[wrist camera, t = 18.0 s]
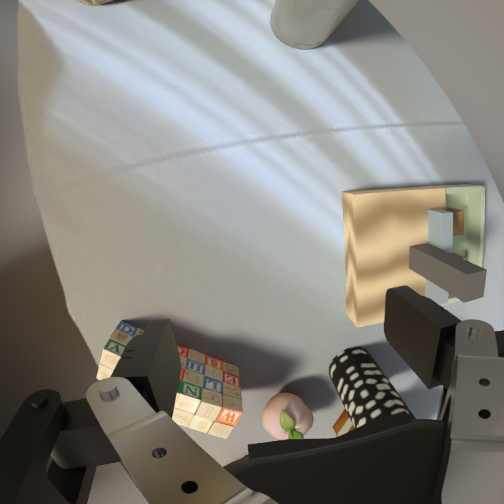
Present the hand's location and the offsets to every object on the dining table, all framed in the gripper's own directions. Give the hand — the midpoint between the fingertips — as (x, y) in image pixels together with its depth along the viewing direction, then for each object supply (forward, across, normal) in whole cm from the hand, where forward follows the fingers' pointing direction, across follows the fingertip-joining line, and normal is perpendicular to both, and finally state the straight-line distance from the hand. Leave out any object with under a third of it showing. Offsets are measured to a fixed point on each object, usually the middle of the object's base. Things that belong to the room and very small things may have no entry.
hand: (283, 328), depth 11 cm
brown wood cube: (+34, -32, +5) cm, 47 cm away
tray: (+36, -36, +9) cm, 52 cm away
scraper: (+31, -26, +9) cm, 41 cm away
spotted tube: (+36, -16, +30) cm, 50 cm away
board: (+36, -23, +9) cm, 44 cm away
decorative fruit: (+36, -3, +35) cm, 50 cm away
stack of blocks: (+36, +14, +23) cm, 45 cm away
